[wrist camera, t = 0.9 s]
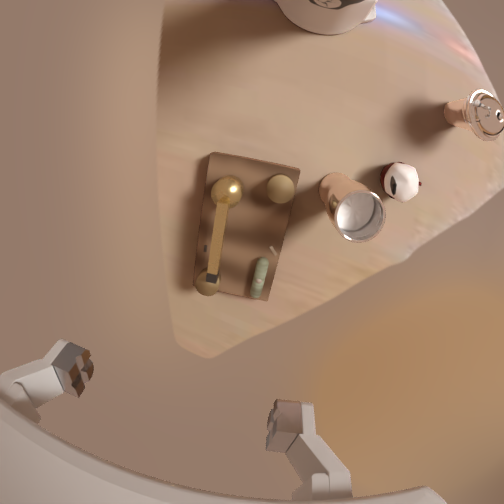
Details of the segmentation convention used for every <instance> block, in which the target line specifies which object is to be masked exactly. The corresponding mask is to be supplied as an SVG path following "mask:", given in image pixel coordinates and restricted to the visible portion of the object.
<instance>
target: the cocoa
mask: <svg viewBox="0 0 504 504" xmlns="http://www.w3.org/2000/svg"><path fill="white" fill-rule="evenodd" d="M380 181H381V184H382V187H383V190H384V191H385V192H386V193H387V194H388V195H389V196H390V197H391V198H393V199H396V200H397V201H400V202H405V201H408V200H409V199H411V198H412V197H414V196H415V195H416V194H417V193H418V185H420V186H421V182H419V179H418V175H417V172H416V169H415V168H414V167H412V166H410V165H408V164H404V163H402V162H396V163H390V164H389V165H387V166H386V167H384V169H383V171H382V172H381V178H380Z"/></svg>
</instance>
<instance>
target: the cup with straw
mask: <svg viewBox="0 0 504 504" xmlns="http://www.w3.org/2000/svg"><path fill="white" fill-rule="evenodd" d="M444 116H445V119H446V120H447V122H448V123H449V124H451V125H453V126H456V127H460V128H463V129H467V130H470V131H472V132H474V134H475V135H476V136H477V137H478V138H479V139H481V140H483V141H493V140H495V139H496V138H497V137H498V136H499V135H500V133H501V132H502V131H503V130H504V109H503V107H502V105H501V104H500V103H499V101H498V100H496V99H495V98H494V96H493V95H492V94H491V93H489V92H488V91H486V90H482V89H475V90H473V91H472V92H471V93H470V94H469V96H468V97H466V98H463V99H459V100H456V101H452V102H448V103H447V104H446V105H445V107H444Z"/></svg>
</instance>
